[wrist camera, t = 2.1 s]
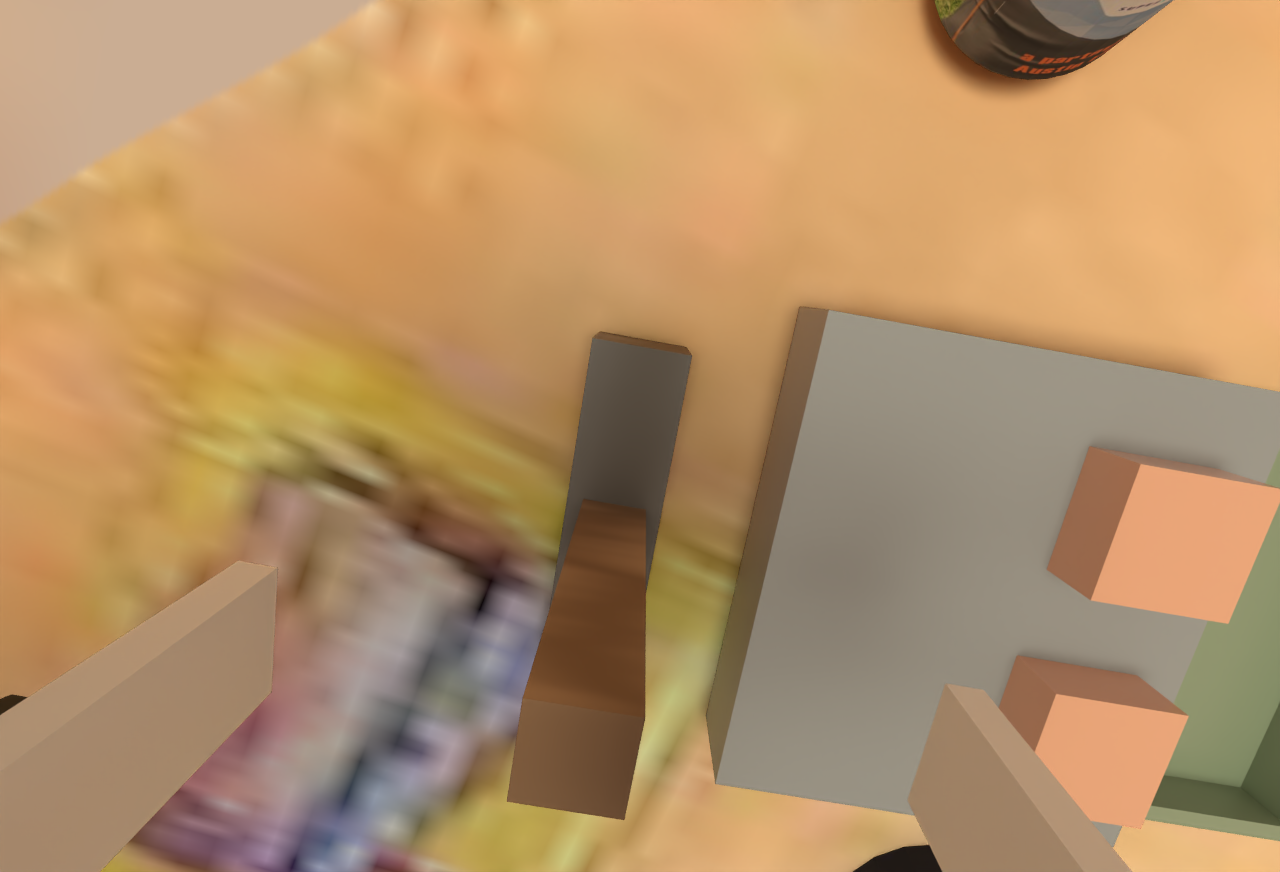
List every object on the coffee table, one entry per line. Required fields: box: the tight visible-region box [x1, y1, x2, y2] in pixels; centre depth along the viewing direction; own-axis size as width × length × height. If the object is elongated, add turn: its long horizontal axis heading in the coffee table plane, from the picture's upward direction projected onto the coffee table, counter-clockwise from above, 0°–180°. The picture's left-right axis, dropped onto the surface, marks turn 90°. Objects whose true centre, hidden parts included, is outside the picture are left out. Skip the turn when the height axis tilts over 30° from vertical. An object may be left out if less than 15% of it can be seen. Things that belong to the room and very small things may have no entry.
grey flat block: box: [706, 307, 1280, 847], centre depth 22 cm, size 14×16×4 cm
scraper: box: [507, 332, 692, 820], centre depth 17 cm, size 3×12×13 cm, turn 170°
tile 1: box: [999, 655, 1189, 829], centre depth 20 cm, size 4×4×2 cm
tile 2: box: [1047, 446, 1280, 624], centre depth 18 cm, size 4×4×2 cm
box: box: [1145, 449, 1280, 841], centre depth 22 cm, size 7×15×2 cm, turn 170°
